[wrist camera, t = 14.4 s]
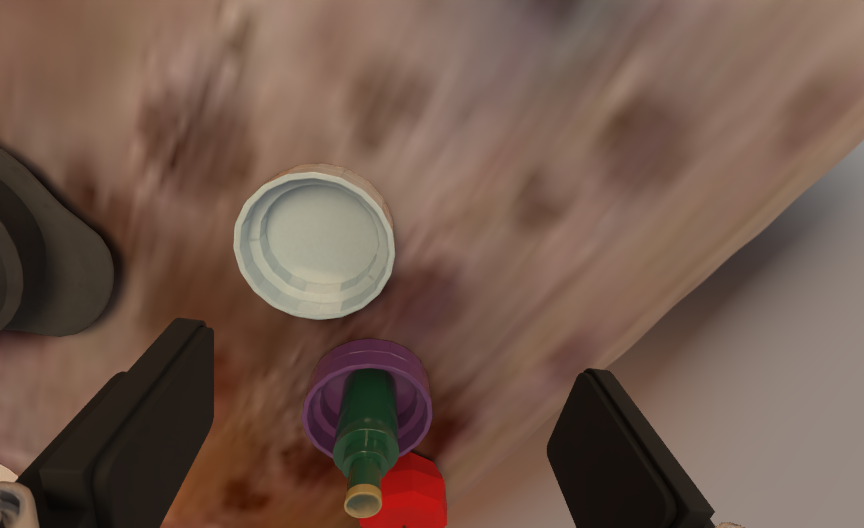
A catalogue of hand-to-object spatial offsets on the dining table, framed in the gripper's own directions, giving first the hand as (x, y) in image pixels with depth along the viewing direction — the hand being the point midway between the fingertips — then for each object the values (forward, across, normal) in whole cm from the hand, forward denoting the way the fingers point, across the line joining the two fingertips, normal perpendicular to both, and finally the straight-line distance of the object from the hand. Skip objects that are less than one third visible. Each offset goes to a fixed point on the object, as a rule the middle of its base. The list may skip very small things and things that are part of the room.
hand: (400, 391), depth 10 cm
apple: (+28, -7, +37) cm, 47 cm away
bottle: (+28, -2, +24) cm, 37 cm away
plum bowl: (+28, -2, +24) cm, 37 cm away
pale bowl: (+29, +5, +7) cm, 30 cm away
